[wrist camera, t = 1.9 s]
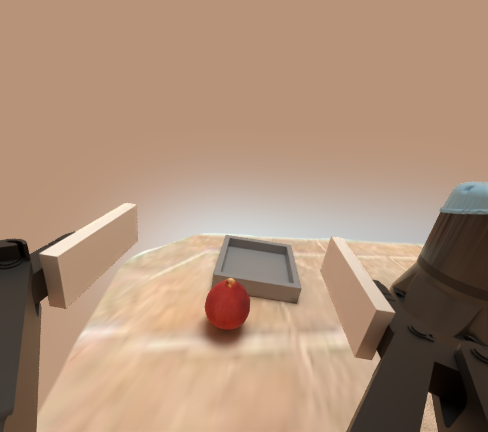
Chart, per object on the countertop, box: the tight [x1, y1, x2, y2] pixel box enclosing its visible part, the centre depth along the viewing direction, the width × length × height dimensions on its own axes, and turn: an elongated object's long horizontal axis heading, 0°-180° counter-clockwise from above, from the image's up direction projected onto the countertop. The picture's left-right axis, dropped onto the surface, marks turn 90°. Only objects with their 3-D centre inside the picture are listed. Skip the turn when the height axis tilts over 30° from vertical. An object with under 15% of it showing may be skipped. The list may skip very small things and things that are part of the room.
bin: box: [212, 235, 301, 303], centre depth 44 cm, size 14×14×3 cm
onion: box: [205, 278, 250, 330], centre depth 31 cm, size 6×6×8 cm
